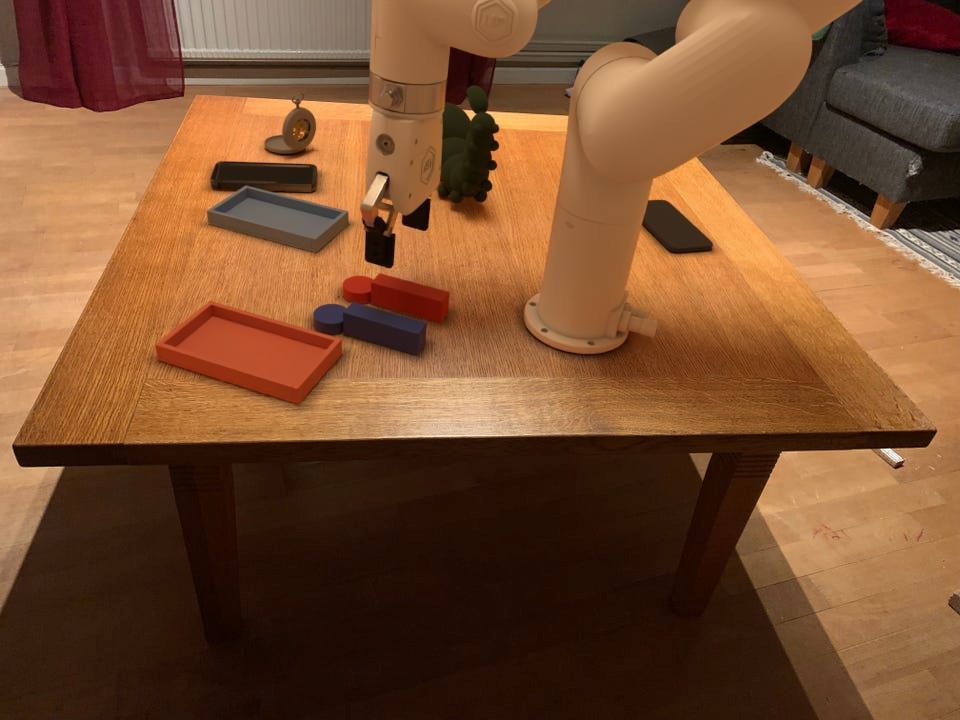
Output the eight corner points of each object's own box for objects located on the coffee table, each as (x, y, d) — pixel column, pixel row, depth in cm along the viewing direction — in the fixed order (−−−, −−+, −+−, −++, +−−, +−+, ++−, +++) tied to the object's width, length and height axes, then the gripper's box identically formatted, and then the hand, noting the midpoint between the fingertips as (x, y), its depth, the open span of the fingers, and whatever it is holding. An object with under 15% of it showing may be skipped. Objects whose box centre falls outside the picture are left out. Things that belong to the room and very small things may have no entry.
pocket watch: (270, 138, 124) (265, 78, 118) (320, 144, 125) (318, 83, 119) (257, 157, 118) (251, 94, 112) (310, 162, 118) (307, 100, 112)
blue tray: (348, 224, 103) (348, 211, 102) (316, 253, 96) (315, 239, 95) (247, 198, 106) (245, 185, 105) (208, 224, 99) (206, 210, 98)
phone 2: (671, 248, 104) (625, 201, 116) (670, 253, 105) (624, 206, 116) (716, 245, 107) (666, 199, 118) (714, 250, 107) (665, 203, 118)
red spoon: (450, 309, 88) (452, 288, 86) (438, 326, 85) (440, 305, 83) (352, 282, 91) (352, 261, 89) (336, 298, 88) (336, 276, 86)
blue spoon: (428, 340, 83) (430, 318, 81) (414, 360, 80) (415, 337, 78) (324, 311, 86) (323, 289, 84) (307, 328, 82) (305, 306, 81)
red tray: (342, 353, 79) (342, 338, 78) (298, 404, 72) (297, 389, 71) (212, 315, 83) (209, 300, 82) (157, 360, 76) (154, 344, 74)
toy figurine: (503, 226, 111) (452, 147, 127) (524, 104, 98) (464, 34, 115) (443, 231, 107) (399, 150, 124) (457, 106, 95) (406, 34, 112)
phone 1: (216, 160, 112) (317, 164, 115) (217, 167, 113) (317, 170, 116) (209, 182, 106) (315, 185, 109) (210, 189, 107) (315, 192, 109)
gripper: (407, 126, 65) (396, 290, 76) (472, 78, 79) (455, 223, 89) (331, 107, 67) (330, 270, 77) (407, 63, 80) (398, 207, 90)
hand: (397, 244), depth 83 cm, fingers open, 9 cm apart
